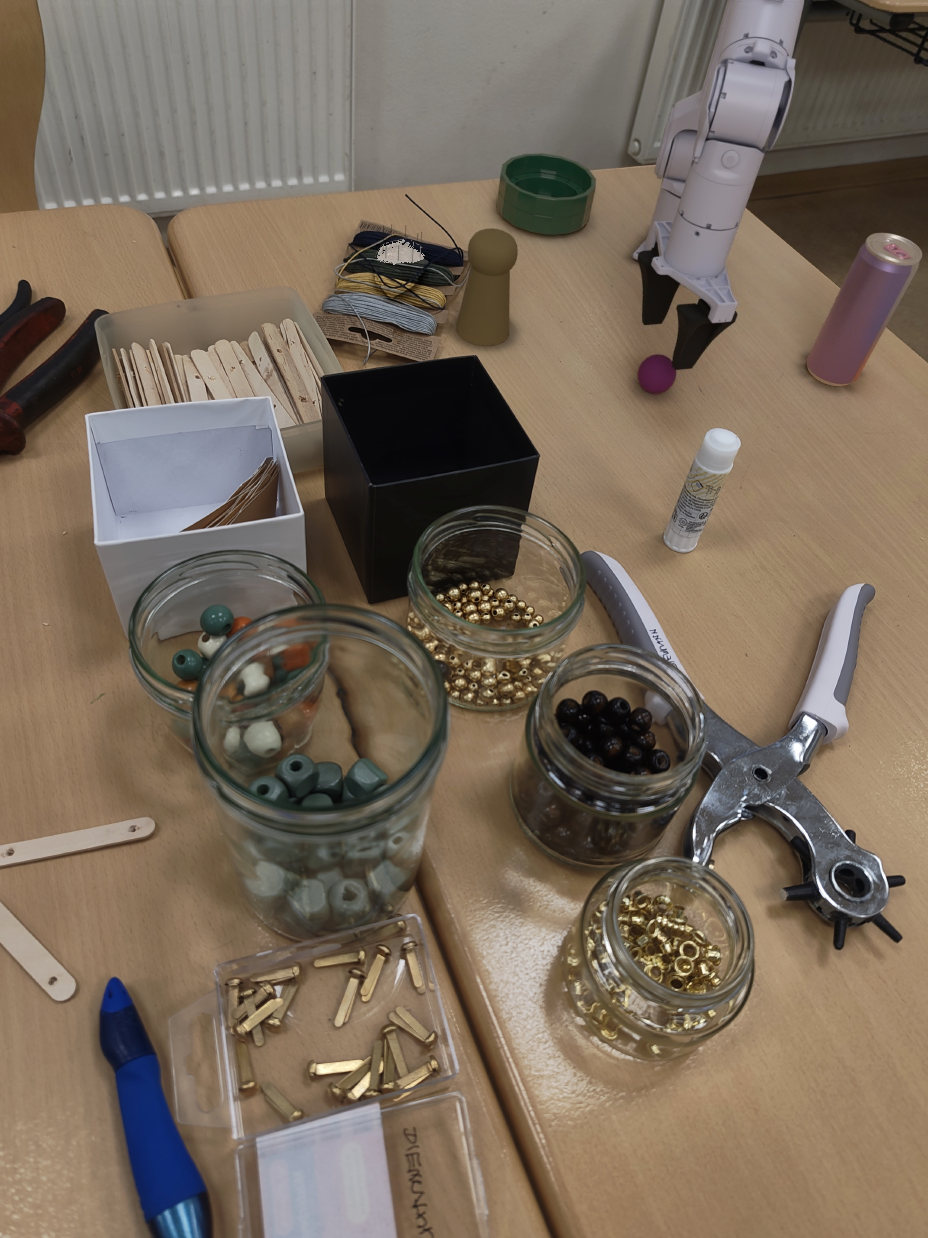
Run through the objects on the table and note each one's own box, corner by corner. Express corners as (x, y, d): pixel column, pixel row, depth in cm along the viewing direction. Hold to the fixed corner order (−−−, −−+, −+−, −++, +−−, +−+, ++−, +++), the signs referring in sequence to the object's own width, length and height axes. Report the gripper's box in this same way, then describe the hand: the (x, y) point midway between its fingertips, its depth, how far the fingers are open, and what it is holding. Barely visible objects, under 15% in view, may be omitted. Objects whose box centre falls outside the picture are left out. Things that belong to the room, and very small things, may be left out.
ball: (641, 373, 94) (651, 341, 91) (675, 386, 94) (686, 355, 90) (628, 392, 92) (637, 360, 89) (662, 406, 91) (673, 374, 88)
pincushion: (416, 307, 98) (419, 260, 94) (363, 298, 98) (363, 251, 94) (433, 253, 105) (437, 207, 101) (384, 245, 105) (385, 199, 101)
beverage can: (828, 393, 96) (894, 267, 84) (793, 362, 99) (852, 236, 87) (867, 381, 98) (937, 257, 86) (831, 351, 101) (894, 227, 89)
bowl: (521, 182, 119) (527, 144, 115) (602, 210, 116) (610, 172, 112) (480, 217, 112) (484, 177, 108) (564, 248, 109) (572, 209, 105)
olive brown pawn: (504, 350, 95) (518, 255, 86) (450, 339, 95) (459, 244, 86) (513, 320, 98) (528, 226, 90) (461, 309, 99) (471, 215, 90)
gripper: (637, 177, 81) (604, 306, 92) (704, 259, 73) (660, 392, 83) (704, 174, 83) (664, 302, 93) (777, 255, 74) (724, 385, 85)
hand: (666, 344), depth 88 cm, fingers open, 7 cm apart
